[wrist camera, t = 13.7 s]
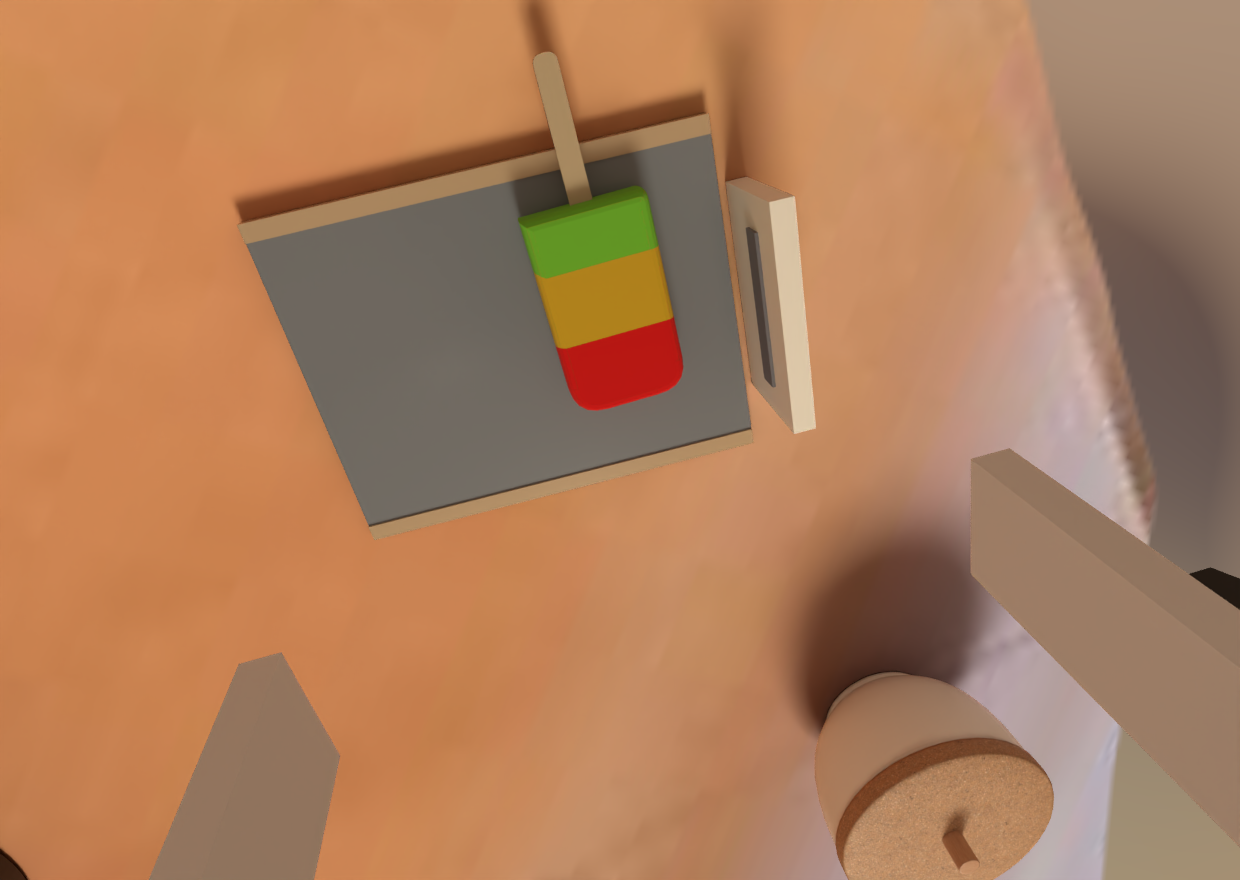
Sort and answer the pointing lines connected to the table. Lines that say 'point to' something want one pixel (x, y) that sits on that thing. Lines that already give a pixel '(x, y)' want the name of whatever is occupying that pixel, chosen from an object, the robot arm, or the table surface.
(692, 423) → the slate board
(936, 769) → the lidded bowl
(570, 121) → the popsicle
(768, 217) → the word card
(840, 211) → the table surface
